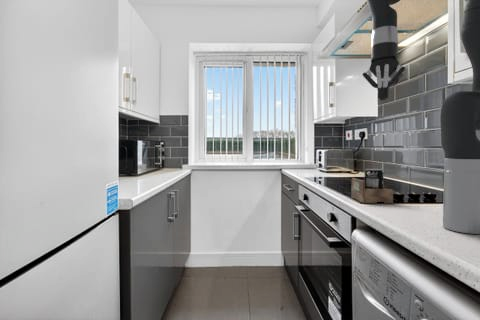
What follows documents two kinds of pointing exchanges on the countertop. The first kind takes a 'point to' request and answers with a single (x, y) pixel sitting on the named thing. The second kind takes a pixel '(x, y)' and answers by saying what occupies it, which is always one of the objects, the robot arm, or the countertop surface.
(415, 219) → the countertop surface
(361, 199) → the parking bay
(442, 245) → the countertop surface
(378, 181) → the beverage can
